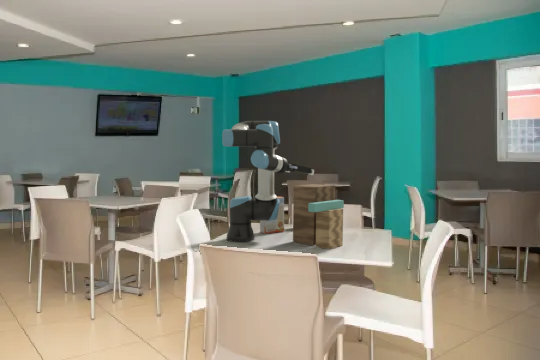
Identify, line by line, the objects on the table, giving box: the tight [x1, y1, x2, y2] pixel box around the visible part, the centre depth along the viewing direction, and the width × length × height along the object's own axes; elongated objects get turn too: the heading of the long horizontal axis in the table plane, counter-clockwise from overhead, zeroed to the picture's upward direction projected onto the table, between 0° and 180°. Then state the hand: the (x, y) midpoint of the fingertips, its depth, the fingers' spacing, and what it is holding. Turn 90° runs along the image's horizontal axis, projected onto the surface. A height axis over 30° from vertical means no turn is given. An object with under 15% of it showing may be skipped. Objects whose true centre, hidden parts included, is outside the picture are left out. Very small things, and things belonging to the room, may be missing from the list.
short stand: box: [315, 208, 344, 250], centre depth 246 cm, size 12×8×19 cm, turn 136°
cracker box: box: [259, 196, 285, 235], centre depth 287 cm, size 14×6×21 cm, turn 123°
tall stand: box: [292, 183, 336, 246], centre depth 259 cm, size 18×14×30 cm
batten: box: [308, 199, 345, 212], centre depth 244 cm, size 24×4×4 cm, turn 136°
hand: (301, 171), depth 235 cm, fingers open, 13 cm apart
